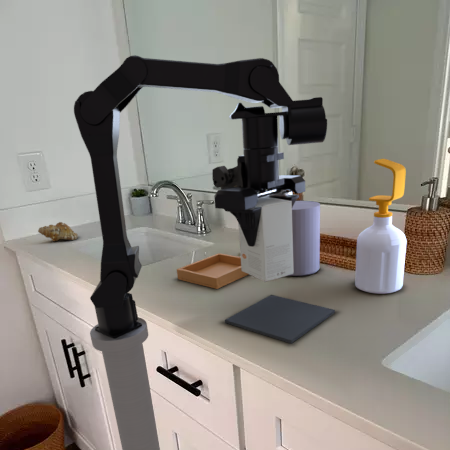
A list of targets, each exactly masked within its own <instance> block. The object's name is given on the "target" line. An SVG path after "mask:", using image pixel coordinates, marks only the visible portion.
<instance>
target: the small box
mask: <svg viewBox="0 0 450 450" xmlns="http://www.w3.org/2000/svg"><path fill="white" fill-rule="evenodd" d="M256 207H262V210H261V215H260V221H259V226H258V232H257V237H256V242H255V245H254V246H253V247H251V246H248V244H247V242H246V239H245V237H244V234H243V232H242V230H241V227H240V225H239V223H238V237H239V238H238V239H239V240H238V241H239V252H240V253H239V254H240V257H241V270H242V271H243V272H245V273H247V274H249V275H250V276H252V277H254V278H256V279H258V280H261V281H263V282H264V283H265V282H270V281H273V280H277V279H281V278H285V277H288V276H287V275H291V274H293V273H294V269H293V232H292V201H289V200H283V199H277V198H271V197H261V198H258V202H257V204H256Z"/></svg>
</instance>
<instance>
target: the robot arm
mask: <svg viewBox="0 0 450 450" xmlns="http://www.w3.org/2000/svg"><path fill="white" fill-rule="evenodd" d="M143 88H158V89H170V90H181V91H182V90H183V91H195V92H197V91H198V92H208V93H209V92H210V93H217V94H221V95H224V96H227V97H230V98H233V99H237V100H240V101H244V102H247V103H251V104H258V103H261V104H263V105H265V106H266V107H268V108H269V109H280V108H281V111H275V112H266V111H265V108H264V106H262V105H259V106H247V107H245V105H244V104H243V103H242V102H238V103H237V104H236V107H235V108H234V110H233V111H232V112H231V114H230V115H229V120H231V121H232V120H241V129H242V130H241V133H242V147H243V149H242V150H243V154H241V155H238V157H237V158H236V159H237V160H236V164H237V165H236V166H234V167H232V168H231V167H230V168H227V167H226V166H225V165H220V166H217V167H214V168H213V169H212V174H211V175H212V183H213V185H214V187H215V188H217V189H218V190H217V191H216V192H215V194H214V196H213V199H214V208H215V209H220V210H224V211H225V212H227V213H230V214H231V215H232V216H234V218H235V219H236V221H237V222H238V223H239V225H240V227H241V230H242V232H243V234H244V237H245V239H246V242H247V244H248V246H251V247H253V246H254V245H255V242H256V237H257V232H258V226H259V221H260V215H261V210H262V207H256V204H257V202H258V198H261V197H271V198H277V199H283V200H289V201H292V207H293V205H294V203H295V201H297V200H298V199H299V198H300V194H302V193H304V192H306V180H305V178H303V176H302V175H287V174H286V175H285V174H284V175H283V174H281V175H280V165H279V164H280V160H284V159H285V154H284V153H285V152H279V135H280V139H281V140H285V141H286V144H287V145H288V146H295V145H296V146H298V145H308V144H309V145H310V144H320V143H321V144H322V143H323V142H325V140H326V136H327V133H328V119H327V116H326V111H325V107H324V105H323V100H324V99H323V97H322V96H319V97H317V96H316V97H311V98H309V99H298V100H297V99H295V100H293V99H292V97H291V96H290V95H289V93H288V92H287V90H286V89H285V88H284V86H283V85H282V83H280V74H279V70H278V68H277V67H276V65H275V64H274V62H273V61H272V60H270V59H267V58H264V57H258V58H250V59H241V60H237V61H236V60H235V61H230V62H225V63H224V62H223V63H209V62H196V61H187V60H186V61H185V60H173V59H161V58H149V57H142V56H139V55H135V54H134V55H129V56H127V57H126V58H125V59H124V61H123V62H122V64H121V65H120V66H119V67H118V68H117V69H115V70H114V71H113V72H112V73H110V75H109V76H107V77H106V78H105V79H104V80H102V81H101V82H100V83H99V84H98V85H97V86H96V88H95V89H93V90H88V91H84V92H82V93H81V94H80V95H79V96H78V98H76V100H75V101H74V105H73V115H74V118H75V121H76V125H77V127H78V131H79V133H80V134H79V135H80V136H81V137H80V138H81V139H82V141H83V143H84V145H85V147H86V150H87V152H88V155H89V157H90V162H91V170H92V176H93V183H94V189H95V191H94V192H95V196H96V197H95V198H96V204H97V210H98V216H99V223H100V230H101V237H102V251H101V258H100V277H99V279H100V280H99V282H98V284H97V285H96V286H95V288H94V291H93V292H92V294H91V295H90V297H89V299H90V302H91V303H92V304H93V306H94V311H95V315H96V321H97V324H98V325H99V326H97V327H95V331H97V332H100V333H102V334H104V335H106V336H108V337H111V338H113V339H114V338H118V337H120V336H122V335H124V334H126V333H128V332H130V331H133V330H135V329H137V328H139V327H141V326H142V323H140V322H137V320H138V317H139V316H138V311H137V305H136V300H134V298H133V294H132V293H130V291H131V290H132V289H133V288H134V285H135V283H136V280H137V279H138V278H139V275H140V272H141V270H142V266H143V265H142V263H141V261H140V246H139V245H136V246H132V244H131V242H130V241H129V238H128V233H127V226H126V218H125V210H124V209H125V208H124V202H123V193H122V186H121V185H122V184H121V179H120V177H121V176H120V170H119V162H118V161H119V160H118V147H119V146H118V145H119V137H120V124H121V123H120V122H121V113H122V112H123V111H124V110H125V109H126V108H127V107H128V105H130V103H131V102H132V101H133V99H134V98H135V97H136V96H137V94H139V92H140V91H142V89H143ZM278 117H279V120H278ZM278 121H279V122H278ZM278 129H279V130H278ZM219 188H220V189H219ZM293 193H294V194H293ZM239 225H238V226H239Z"/></svg>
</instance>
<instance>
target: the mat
mask: <svg viewBox="0 0 450 450" xmlns="http://www.w3.org/2000/svg"><path fill="white" fill-rule="evenodd" d="M335 312H336V310H335V309H332V308H329V307H325V306H321V305H317V304H312V303H308V302H303V301H300V300H295V299H291V298H287V297H284V296H283V297H282V296H279V295H274V294H270V295H268V296H266V297H264V298H263V299H261V300H259V301H257V302H256V303H253V304H252V305H250V306H248V307H246V308H244V309H242V310H240V311H238V312H236V313H235V314H233V315H231V316H230V317H228V318H226V319H224V324H228V325H231V326H235V327H237V328H240V329H244V330H246V331H250V332H253V333H256V334H259V335H263V336H265V337H269V338H272V339H275V340H278V341H281V342H285V343H287V344H293V343H294V342H296V341H297V340H298V339H300V338H302V337H303V336H304V335H305V334H307V333H308V332H310V331H312V330H313V329H314V328H316V327H317V326H318V325H320V324H321V323H322V322H324V321H325V320H327V319H328V318H330V317H332V315H334V314H335Z"/></svg>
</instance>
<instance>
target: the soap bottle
mask: <svg viewBox="0 0 450 450" xmlns="http://www.w3.org/2000/svg"><path fill="white" fill-rule="evenodd" d="M373 164H375V165H376V166H380V167H383V168H385V169H387V170H390V171H391V172H392V177H393V178H392V192H391V193H392V194H391V195H381V194H380V195H379V194H378V195H374V196H370V197H369V198H368V201H370V202H375V205H376V206H378V211H374V212H373V222H372V225H370V226H368V227H366V228H365V229H363V230H362V231H361V232H360V233H358V235H357V238H356V253H355V275H354V276H355V277H354V278H355V279H354V286H355V287H356V288H357V289H358V290H360V291H363V292H365V293H370V294H377V295H379V294H382V295H383V294H392V293H395V292H398V291H400V290H401V289H402V288H403V285H404V276H405V275H404V274H405V261H406V252H407V243H408V242H407V241H408V240H407V238H406V235H405V233H404V232H403V230H401V229H399V228H398V227H396V226H394V225H393V224H392V223H393V212H392V211H389V206H391V205H392V202H393V201H396V200H398V199H401V198H402V197H403V196H404V195H405V188H406V187H405V186H406V177H407V176H406V175H407V170H406V167H405V166H404V165H403V164H401V163H398V162H395V161H393V160H391V159H387V158H379V159H375V160H374V161H373Z"/></svg>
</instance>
